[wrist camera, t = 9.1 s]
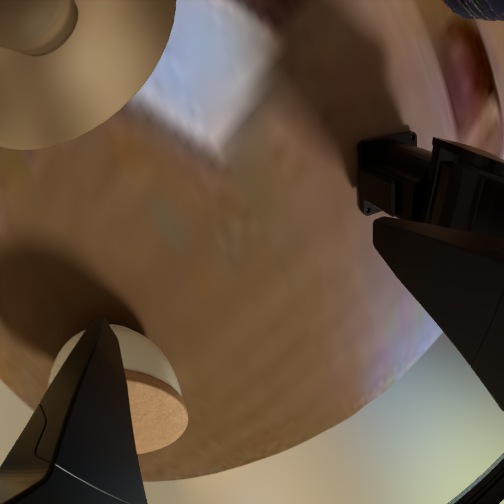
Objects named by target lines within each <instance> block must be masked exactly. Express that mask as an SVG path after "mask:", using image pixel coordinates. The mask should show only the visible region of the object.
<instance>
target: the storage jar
mask: <svg viewBox="0 0 504 504" xmlns="http://www.w3.org/2000/svg"><path fill="white" fill-rule="evenodd" d="M443 1H444V3H445V4H446V5H447V6H448V7H449V8H450V9H451V10H452V11H453V12H454V13H455V14H456V15H458V16H460V17H462V18H464V19H473V18H476V19H483V20H489V21H496V20H502V21H504V0H443Z"/></svg>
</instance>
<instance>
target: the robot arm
mask: <svg viewBox="0 0 504 504" xmlns="http://www.w3.org/2000/svg"><path fill="white" fill-rule="evenodd" d="M411 136H412V138H411ZM364 145H365V148H364V149H363V146H364ZM432 145H433V150H432V152H430V151H428V150H425V149H422V148H419V147H417V135H416V133H415V132H411V131H409V132H403V133H398V134H392V135H387V136H382V137H377V138H372V139H367V140H362V141H360V142H359V144H358V158H359V180H360V197H361V212H362V213H363V214H364V215H366V216H369V215H372V214H375V213H377V212H380V211H384V212H385V213H387V214H389V215H390V216H392V217H394V216H395V217H397V218H399V219H397V218H391V217H385V216H384V217H381V218H378V219H375V220H374V222H373V244H374V247H375V249H376V250H377V251H378V252H379V254H380V255H381V256H382V258H383V259H384V260H385V262H386V263H387V264H388V266H389V267H390V268H391V270H392V271H393V273H394V274H395V275H396V277H397V278H398V279H399V280H400V281H401V283H402V284H403V285H404V286H405V287H406V288H407V289H408V291H409V292H410V293H411V294H412V295H413V296H414V297H415V299H416V300H417V301H418V302H419V303H420V304H421V305H422V307H423V308H424V309H425V310H426V311H427V313H428V314H429V315H430V316H431V317H432V318H433V320H434V321H435V322H436V323H437V325H438V326H439V327H440V328H441V329H442V331H443V332H444V333H445V334H446V336H447V337H448V338H449V339H450V341H451V342H452V343H453V344H454V346H455V347H456V348H457V349H458V351H459V352H460V353H461V354H462V356H463V357H464V358H465V360H466V361H467V362H468V364H469V365H471V368H472V369H473V371H475V373H476V375H477V376H478V377H479V378H480V380H481V381H482V383H483V384H484V386H485V387H486V388H487V390H488V391H489V393H490V394H491V396H492V397H493V398H494V400H495V401H496V403H497V404H498V406H499V407H500V408H501V409H502V411H504V160H503V159H501V158H499V157H497V156H495V155H493V154H491V153H489V152H486V151H483V150H480V149H478V148H475V147H472V146H469V145H465V144H461V143H457V142H453V141H449V140H444V139H440V138H435V137H433V141H432ZM367 208H368V210H367ZM366 210H367V211H366ZM503 499H504V453H503V454H502V455H501V456H500V457H499V458H498V459H497V460H496V461H495V462H494V463H493V464H492V465H491V466H490V467H489V468H488V469H487V470H486V471H485V472H484V473H483V474H482V475H481V476H480V477H479V478H477V479H476V480H475V481H474V482H473V483H472V484H471V485H470V486H469V487H467V488H466V489H465V490H464V491H463V492H461V493H460V494H459V495H458V496H457V497H455V498H454V499H453V500H451V501H450V502H449V503H448V504H499V503H500V502H501V501H502V500H503ZM0 504H148V503H147V499H146V495H145V491H144V486H143V482H142V477H141V472H140V467H139V462H138V456H137V451H136V445H135V439H134V432H133V425H132V418H131V411H130V403H129V394H128V386H127V380H126V376H125V371H124V366H123V361H122V356H121V350H120V345H119V341H118V338H117V336H116V334H115V333H114V331H113V330H112V328H111V327H110V325H109V324H108V322H107V321H106V319H104V318H99V319H96V320H93V321H91V323H90V324H89V326H88V327H87V329H86V330H85V331H84V333H83V334H82V336H81V337H80V339H79V340H78V342H77V343H76V345H75V346H74V348H73V349H72V351H71V353H70V354H69V356H68V357H67V359H66V360H65V362H64V363H63V365H62V367H61V368H60V370H59V371H58V373H57V374H56V376H55V378H54V379H53V381H52V383H51V384H50V386H49V388H48V389H47V391H46V393H45V394H44V396H43V398H42V399H41V401H40V404H38V406H37V408H36V410H35V411H34V413H33V415H32V417H31V418H30V420H29V422H28V423H27V425H26V427H25V428H24V430H23V431H22V433H21V435H20V436H19V438H18V439H17V441H16V442H15V444H14V446H13V447H12V449H11V451H10V452H9V454H8V455H7V457H6V459H5V460H4V462H3V463H2V465H1V467H0Z"/></svg>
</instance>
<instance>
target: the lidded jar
mask: <svg viewBox="0 0 504 504" xmlns="http://www.w3.org/2000/svg"><path fill="white" fill-rule="evenodd" d="M109 325H110V327H111V328H112V330H113V331H114V333H115V334H116V336H117V338H118V341H119V345H120V350H121V356H122V361H123V366H124V371H125V376H126V380H127V386H128V394H129V403H130V411H131V418H132V425H133V432H134V439H135V445H136V451H137V454H140V453H146V452H150V451H154V450H157V449H160V448H163V447H165V446H167V445H169V444H171V443H172V442H174V441H175V440H176V439H178V438H179V437H180V436H181V435H182V433H183V432H184V431H185V429H186V427H187V424H188V413H187V408H186V405H185V402H184V400H183V398H182V394H181V390H180V387H179V383H178V380H177V378H176V375H175V373H174V371H173V368H172V366H171V365H170V363H169V361H168V359H167V358H166V356H165V355H164V354H163V352H162V351H161V350H160V349H159V348H158V347H157V346H156V345H155V344H154V343H153V342H152V341H150V340H149V339H148V338H146V337H145V336H143V335H141V334H140V333H138V332H135V331H133V330H132V329H130V328H127V327H125V326H121V325H116V324H109ZM84 331H85V330H84ZM84 331H81V332H80V333H78V334H76V335H75V336H73V337H72V338H71V339H70V340H68V341H67V342H66V344H65V345H64V346H63V347H62V349H61V350H60V351H59V353H58V355H57V357H56V359H55V361H54V364H53V366H52V369H51V372H50V375H49V380H48V386H47V389H48V388H49V386H50V384H51V383H52V381H53V379H54V378H55V376H56V374H57V373H58V371H59V370H60V368H61V367H62V365H63V363H64V362H65V360H66V359H67V357H68V356H69V354H70V353H71V351H72V349H73V348H74V346H75V345H76V343H77V342H78V340H79V339H80V337H81V336H82V334H83V333H84ZM46 391H47V390H46Z"/></svg>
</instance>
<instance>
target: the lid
mask: <svg viewBox="0 0 504 504" xmlns="http://www.w3.org/2000/svg"><path fill="white" fill-rule="evenodd" d="M175 10H176V0H0V146H1V147H4V148H10V149H16V150H32V149H41V148H46V147H50V146H54V145H59V144H61V143H64V142H66V141H69V140H72V139H74V138H76V137H78V136H80V135H82V134H84V133H86V132H88V131H90V130H92V129H93V128H95V127H96V126H98V125H100V124H101V123H103V122H104V121H106V120H107V119H109V118H110V117H111V116H112V115H114V114H115V113H116V112H118V111H119V110H120V109H121V108H122V107H123V106H124V105H125V104H126V103H127V102H128V101H130V100H131V99H132V98H133V96H134V95H135V94H136V93H137V92H138V91H139V90H140V88H141V87H142V86H143V85H144V83H145V82H146V81H147V79H148V78H149V76H150V75H151V74H152V72H153V71H154V69H155V67H156V65H157V63H158V62H159V60H160V58H161V56H162V54H163V51H164V49H165V47H166V45H167V42H168V40H169V36H170V33H171V30H172V26H173V22H174V16H175Z"/></svg>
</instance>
